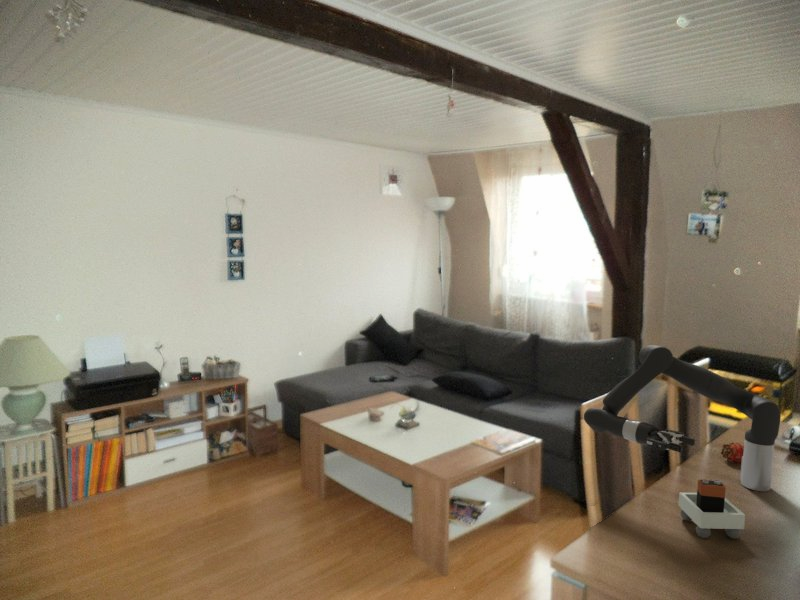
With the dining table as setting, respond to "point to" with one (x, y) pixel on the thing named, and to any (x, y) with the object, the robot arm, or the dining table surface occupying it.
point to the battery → (711, 496)
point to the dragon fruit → (733, 452)
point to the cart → (711, 517)
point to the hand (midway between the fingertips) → (688, 445)
